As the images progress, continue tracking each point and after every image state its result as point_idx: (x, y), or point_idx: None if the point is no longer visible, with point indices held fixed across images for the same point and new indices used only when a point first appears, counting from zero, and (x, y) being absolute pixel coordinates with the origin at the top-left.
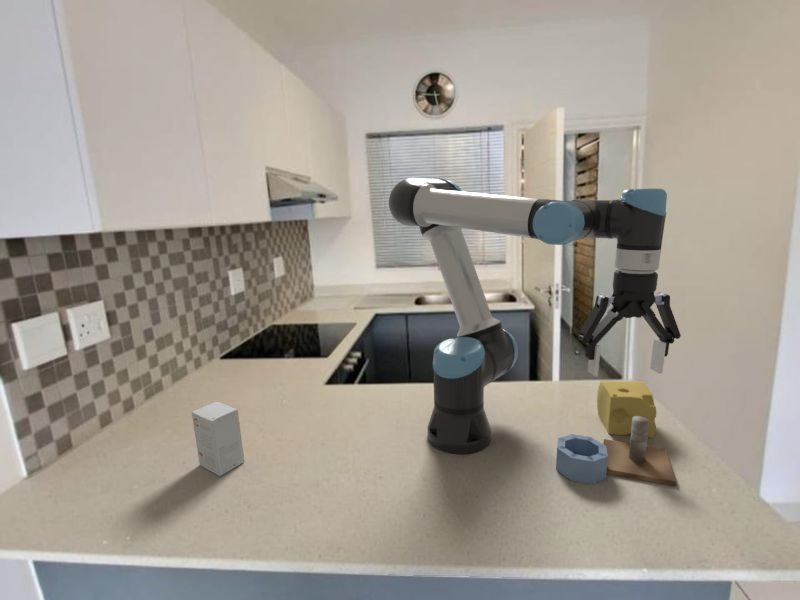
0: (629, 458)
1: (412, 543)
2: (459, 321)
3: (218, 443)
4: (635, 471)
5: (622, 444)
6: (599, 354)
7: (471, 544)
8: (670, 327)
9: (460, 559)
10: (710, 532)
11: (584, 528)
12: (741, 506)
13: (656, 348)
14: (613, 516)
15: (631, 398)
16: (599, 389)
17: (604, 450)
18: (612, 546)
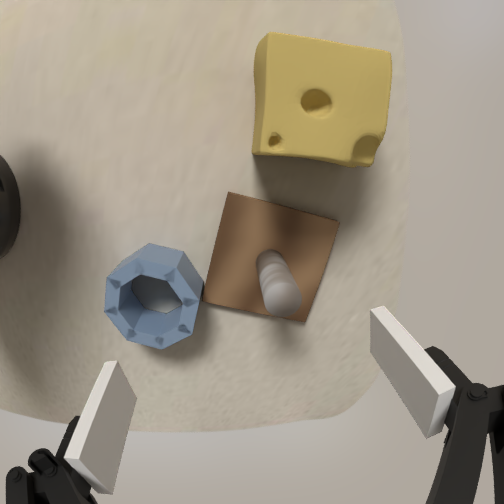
0: (255, 264)
1: (10, 399)
2: None
3: None
4: (249, 303)
5: (261, 212)
6: (118, 463)
7: (49, 406)
8: (496, 466)
9: (47, 417)
10: (294, 391)
11: (148, 397)
12: (363, 345)
13: (413, 388)
14: (186, 381)
15: (318, 157)
16: (259, 51)
17: (191, 316)
18: (175, 416)
